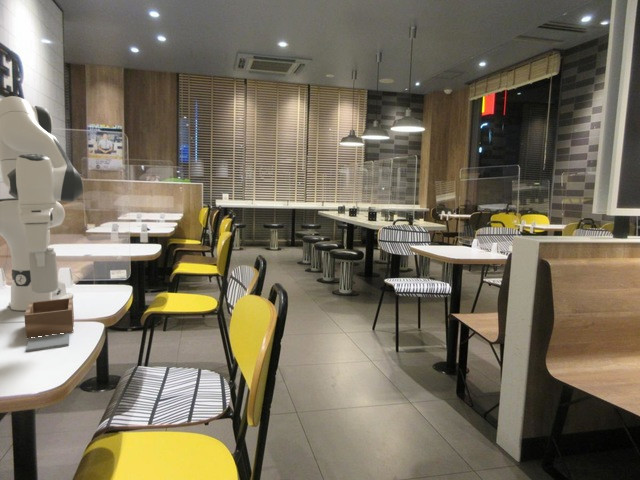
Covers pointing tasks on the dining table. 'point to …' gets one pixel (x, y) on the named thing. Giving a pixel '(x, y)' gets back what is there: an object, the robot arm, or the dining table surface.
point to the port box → (49, 317)
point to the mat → (48, 342)
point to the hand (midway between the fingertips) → (42, 263)
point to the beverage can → (44, 272)
